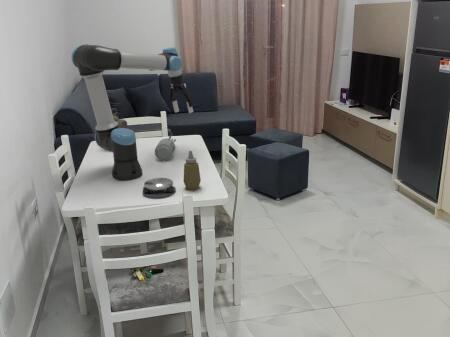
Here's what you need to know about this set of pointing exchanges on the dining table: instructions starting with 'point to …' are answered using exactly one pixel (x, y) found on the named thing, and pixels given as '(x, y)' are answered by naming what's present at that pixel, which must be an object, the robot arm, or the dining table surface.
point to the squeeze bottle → (191, 173)
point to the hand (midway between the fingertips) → (184, 112)
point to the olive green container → (120, 120)
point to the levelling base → (159, 193)
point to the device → (165, 149)
